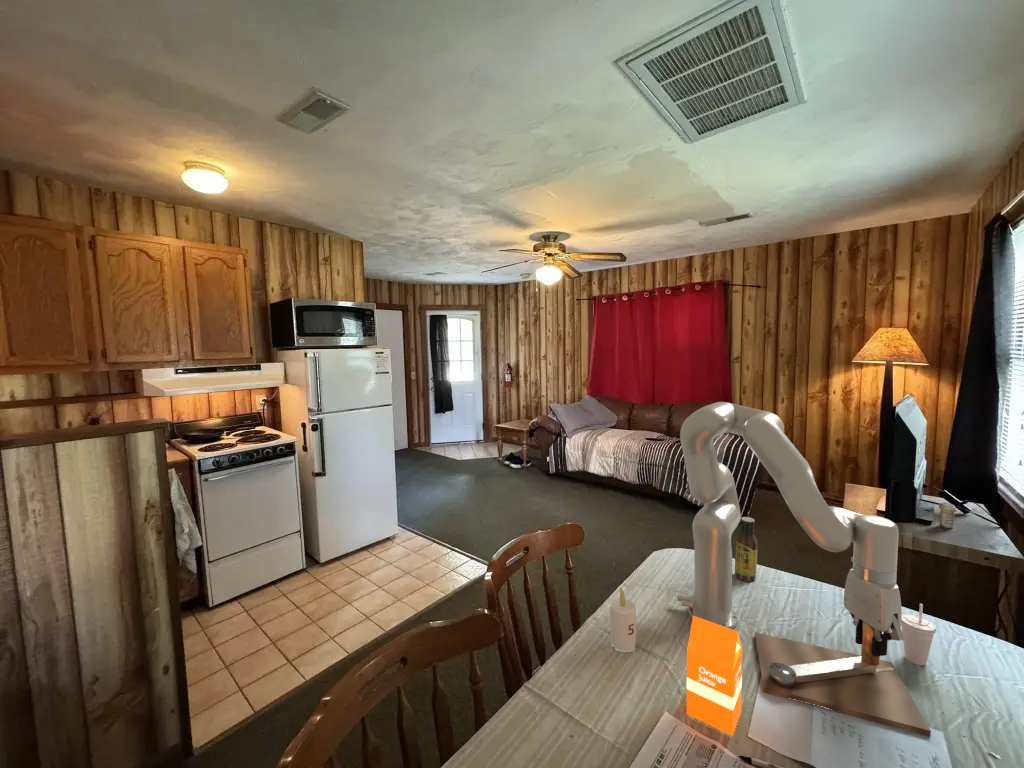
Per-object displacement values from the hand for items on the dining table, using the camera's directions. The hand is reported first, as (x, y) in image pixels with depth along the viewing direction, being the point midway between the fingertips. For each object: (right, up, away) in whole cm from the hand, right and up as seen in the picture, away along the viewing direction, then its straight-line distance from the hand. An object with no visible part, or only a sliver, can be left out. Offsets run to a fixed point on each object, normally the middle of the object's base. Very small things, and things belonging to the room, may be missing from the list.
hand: (870, 648), depth 98 cm
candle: (-53, -7, +12) cm, 55 cm away
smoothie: (+14, -6, +4) cm, 16 cm away
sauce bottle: (-6, -3, +42) cm, 43 cm away
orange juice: (-40, -8, -9) cm, 42 cm away
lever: (-11, -5, -1) cm, 12 cm away
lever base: (-10, -7, -1) cm, 12 cm away
